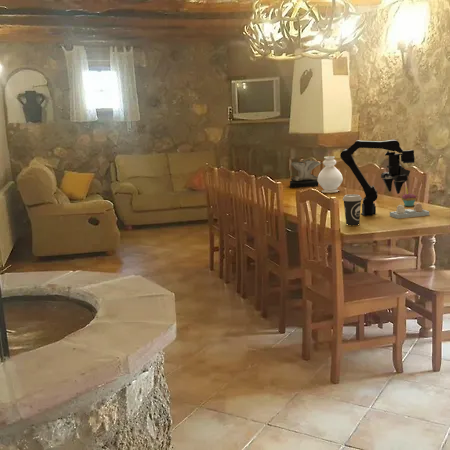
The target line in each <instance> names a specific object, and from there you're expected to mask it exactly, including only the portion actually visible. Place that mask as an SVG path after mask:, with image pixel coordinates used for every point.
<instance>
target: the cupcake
mask: <svg viewBox="0 0 450 450" xmlns="http://www.w3.org/2000/svg"><path fill="white" fill-rule="evenodd" d="M405 191H406V192H405V194H403V195H402V196H401V200H402V202H403V204H404V207H413V206H415V202H416V201H417V200H418V197H417V195H415V194H414V193H409V192H408V187H407V186H405Z"/></svg>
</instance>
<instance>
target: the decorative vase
mask: <svg viewBox="0 0 450 450" xmlns="http://www.w3.org/2000/svg"><path fill="white" fill-rule="evenodd" d="M323 158H324V160H323V161H322V164H323V166H324V167H322V169H321V170H320V172H319V174H318V176H317V177H318V178H317V181H318V185H319V186H320V187H321V188H322V190H321V193H324V194H325V193H327V194H333V193H339V192H340V189H338V188H339V187H340V186H341V184H342V183H343V180H344V179H343V177H344V176H343V175H342V173H341V171H340V170H339V169H338V168H337V167H336V166H335V165H337V159H335V158H336V157H335V156H334V155H333V156H332V155H327V156H324V157H323ZM338 191H339V192H338Z"/></svg>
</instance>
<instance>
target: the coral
mask: <svg viewBox="0 0 450 450" xmlns="http://www.w3.org/2000/svg"><path fill="white" fill-rule="evenodd" d="M321 164H322V162H319V161H317V160H316V159H315V160H313V159H312V160H311V159H307V160H305V159H302V161H298V162H297V161H296V162H294V161H293V162H290V166H292V167H293V168H294V169H295V170H296V171H297V174H298V175H296V176H292V177H291V179H290V181H289V188H290V189H294V188H298V189H299V188H313V187H319V183H318V180H317V178H318V176H315V175H314V174H311V173H312V171H313V170H314V169H316V168H317V167H318V166H320V165H321Z"/></svg>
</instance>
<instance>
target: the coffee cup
mask: <svg viewBox="0 0 450 450" xmlns="http://www.w3.org/2000/svg"><path fill="white" fill-rule="evenodd" d="M342 201H343V206H344V207H343V208H344V217H345V225H346V224H348V225H358V224H359V225H360V219H361V218H360V217H361V209H362V201H363V198H362V196H361V195H360V194H354V193H352V194H345V195H343V197H342ZM359 225H358V226H359Z"/></svg>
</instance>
